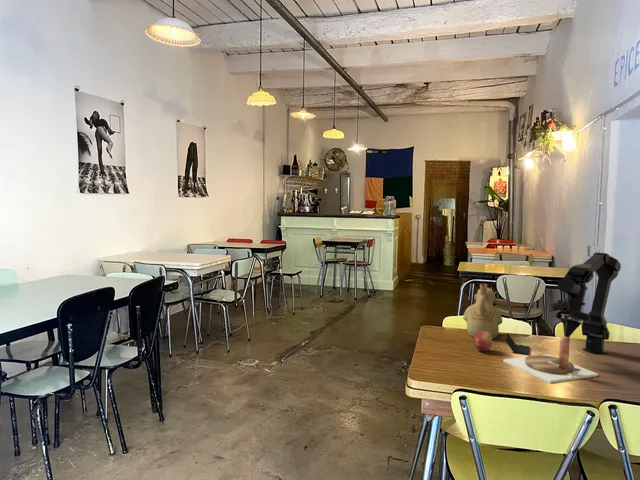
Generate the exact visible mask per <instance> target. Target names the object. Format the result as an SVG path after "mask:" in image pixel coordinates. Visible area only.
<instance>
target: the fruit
mask: <svg viewBox="0 0 640 480" xmlns="http://www.w3.org/2000/svg"><path fill="white" fill-rule="evenodd" d="M472 337H473V336H472ZM492 340H493V338H492V335H491V334H489V333H488V332H485V331H481V332H478V333H477V334H476V335H475V336H474V337H473V340H472V341H473V344H474V346H475V348H476V349H477V350H478V351H481V352H487V351H490V350H491V349H492V344H493V343H492Z"/></svg>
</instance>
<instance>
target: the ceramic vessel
mask: <svg viewBox="0 0 640 480" xmlns="http://www.w3.org/2000/svg"><path fill="white" fill-rule="evenodd" d="M494 294H495V292H494V290H493V289H492V288H490V287H488V284H486V283H480V284H479V289H478V290H477V293H475V294H474V298H473V300H474V301H475V303H473V304H471V305H469V306H468V307H467V308H466V309H465V312H464V313H463V318H462V319H463V320H464V321H465V322H466V331H467V333H468V335H469V336H471V337H474V336H475V335H476V334H477V333H478V332H481V331H485V332H488V333H489V334H491V335H492V339H495V338H496V337H497V336H498V334H499V330H500V329H499V326H500V325H502V324H503V316H502V313H501V311H500V310H499V309H498V308H497V307H495V306H494V305H493V304H495V302H496V299H497V298H496V296H495V295H494Z"/></svg>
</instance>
